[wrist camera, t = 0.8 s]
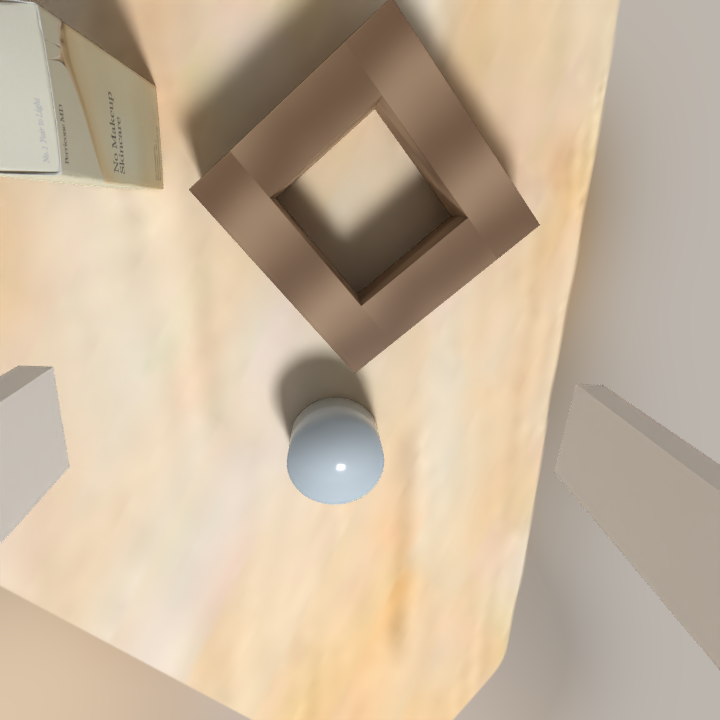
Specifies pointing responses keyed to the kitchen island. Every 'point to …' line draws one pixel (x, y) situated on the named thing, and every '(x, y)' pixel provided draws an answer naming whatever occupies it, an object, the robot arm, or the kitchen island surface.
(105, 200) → the kitchen island surface
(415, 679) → the kitchen island surface
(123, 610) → the kitchen island surface
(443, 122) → the socket block
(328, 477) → the light blue rounded block
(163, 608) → the kitchen island surface
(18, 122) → the skincare box
